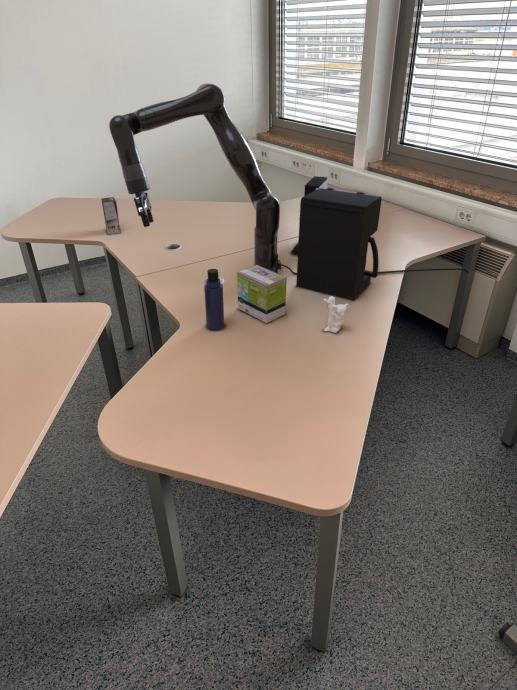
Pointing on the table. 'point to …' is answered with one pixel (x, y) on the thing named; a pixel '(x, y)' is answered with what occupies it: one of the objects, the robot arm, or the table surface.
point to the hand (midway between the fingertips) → (149, 224)
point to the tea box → (261, 293)
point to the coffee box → (111, 215)
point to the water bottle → (214, 301)
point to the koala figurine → (335, 315)
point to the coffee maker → (337, 241)
